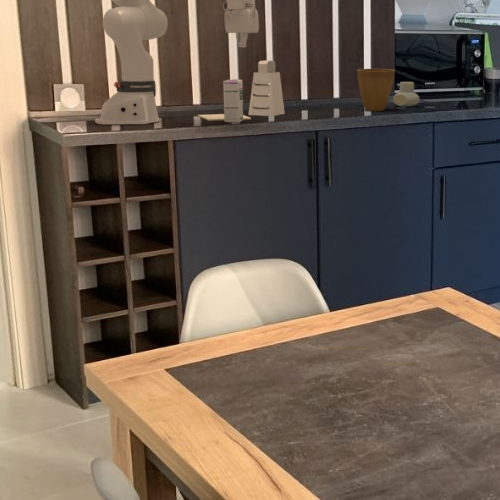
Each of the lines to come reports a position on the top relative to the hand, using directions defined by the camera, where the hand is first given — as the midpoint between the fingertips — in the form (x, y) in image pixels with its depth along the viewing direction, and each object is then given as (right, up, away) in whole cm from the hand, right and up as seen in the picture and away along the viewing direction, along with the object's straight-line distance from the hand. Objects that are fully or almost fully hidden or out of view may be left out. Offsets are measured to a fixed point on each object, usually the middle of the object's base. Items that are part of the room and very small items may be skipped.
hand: (241, 47), depth 278 cm
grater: (+9, -16, +42) cm, 45 cm away
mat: (-7, -19, +29) cm, 35 cm away
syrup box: (-3, -22, +17) cm, 28 cm away
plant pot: (+53, -12, +56) cm, 78 cm away
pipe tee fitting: (+68, -7, +73) cm, 100 cm away
